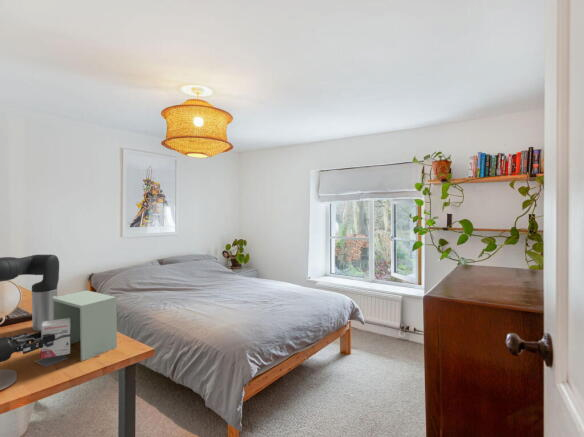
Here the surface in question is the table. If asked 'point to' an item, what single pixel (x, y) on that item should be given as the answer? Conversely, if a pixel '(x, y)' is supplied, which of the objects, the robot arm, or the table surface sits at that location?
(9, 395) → the table surface
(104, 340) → the cubby
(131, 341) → the table surface
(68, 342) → the ink box
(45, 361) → the coaster
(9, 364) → the table surface
